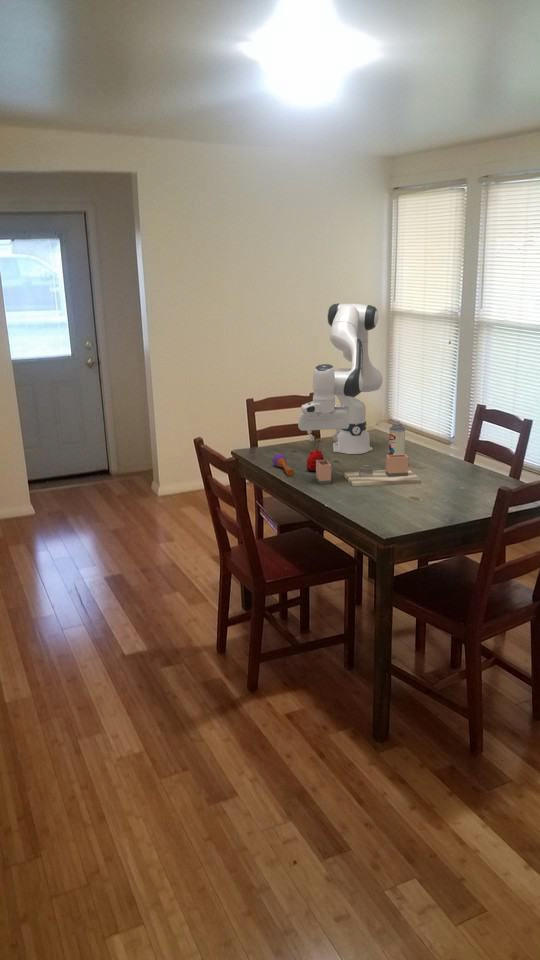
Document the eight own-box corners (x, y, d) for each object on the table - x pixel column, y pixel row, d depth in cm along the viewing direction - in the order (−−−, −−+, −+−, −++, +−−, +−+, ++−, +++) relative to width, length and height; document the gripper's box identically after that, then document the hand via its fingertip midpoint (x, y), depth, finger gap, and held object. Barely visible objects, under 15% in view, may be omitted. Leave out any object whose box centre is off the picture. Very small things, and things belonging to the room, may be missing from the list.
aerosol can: (385, 464, 325) (386, 420, 320) (399, 463, 327) (401, 419, 321) (392, 468, 319) (394, 423, 313) (406, 467, 321) (408, 421, 315)
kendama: (282, 468, 307) (270, 453, 325) (285, 481, 310) (272, 466, 328) (296, 464, 308) (283, 450, 327) (298, 477, 311) (285, 462, 329)
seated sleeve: (388, 476, 301) (389, 457, 299) (385, 473, 305) (386, 455, 303) (407, 475, 302) (408, 457, 300) (404, 472, 306) (405, 454, 304)
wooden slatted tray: (343, 475, 309) (343, 461, 308) (408, 472, 313) (408, 458, 311) (352, 486, 294) (352, 471, 292) (420, 482, 297) (421, 468, 296)
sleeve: (316, 479, 305) (316, 460, 303) (326, 478, 306) (327, 459, 303) (319, 484, 297) (319, 465, 295) (330, 483, 298) (331, 464, 296)
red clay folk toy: (319, 467, 322) (319, 434, 318) (327, 471, 316) (327, 437, 312) (303, 469, 319) (303, 435, 315) (311, 473, 313) (311, 439, 309)
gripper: (347, 404, 297) (347, 437, 301) (297, 405, 295) (297, 439, 298) (351, 406, 291) (350, 441, 295) (300, 408, 288) (300, 443, 292)
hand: (323, 440), depth 296 cm, fingers open, 8 cm apart
